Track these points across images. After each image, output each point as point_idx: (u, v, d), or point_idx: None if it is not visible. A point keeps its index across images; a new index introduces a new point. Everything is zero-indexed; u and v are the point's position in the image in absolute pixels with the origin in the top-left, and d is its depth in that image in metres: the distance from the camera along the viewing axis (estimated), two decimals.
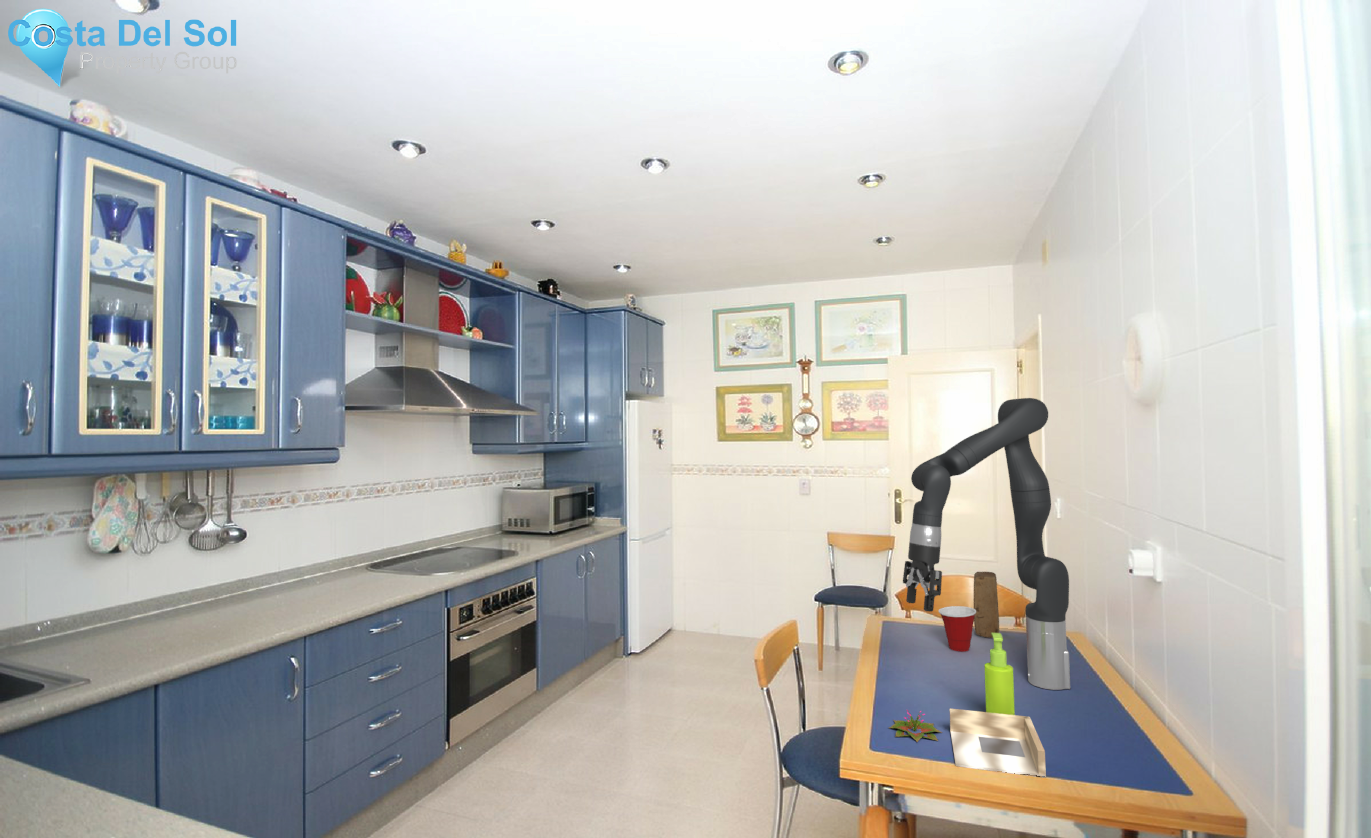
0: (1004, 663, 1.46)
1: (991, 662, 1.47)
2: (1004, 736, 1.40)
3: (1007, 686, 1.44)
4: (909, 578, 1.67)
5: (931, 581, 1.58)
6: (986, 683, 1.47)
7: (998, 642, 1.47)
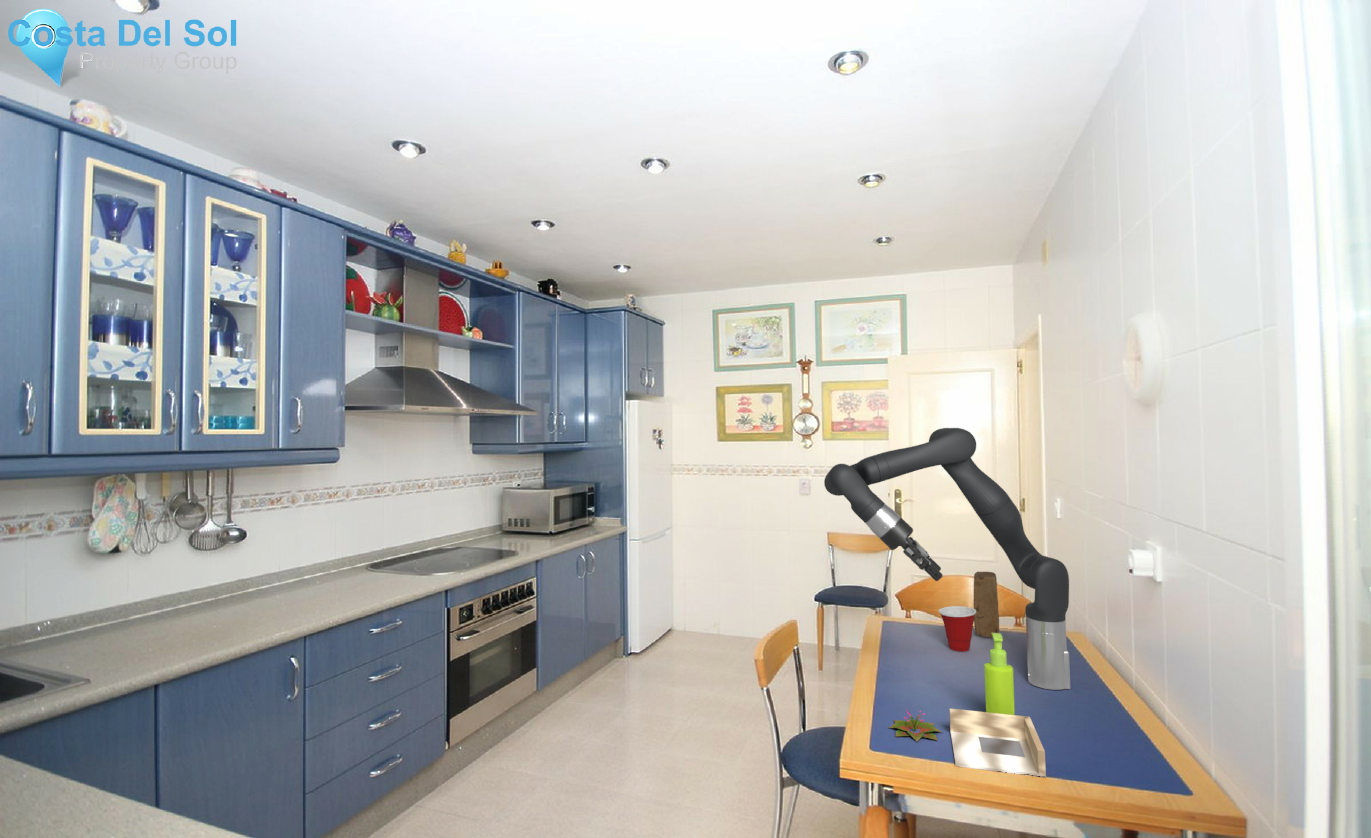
0: (1004, 663, 1.46)
1: (991, 662, 1.47)
2: (1004, 736, 1.40)
3: (1007, 686, 1.44)
4: None
5: (911, 559, 1.54)
6: (986, 683, 1.47)
7: (998, 642, 1.47)
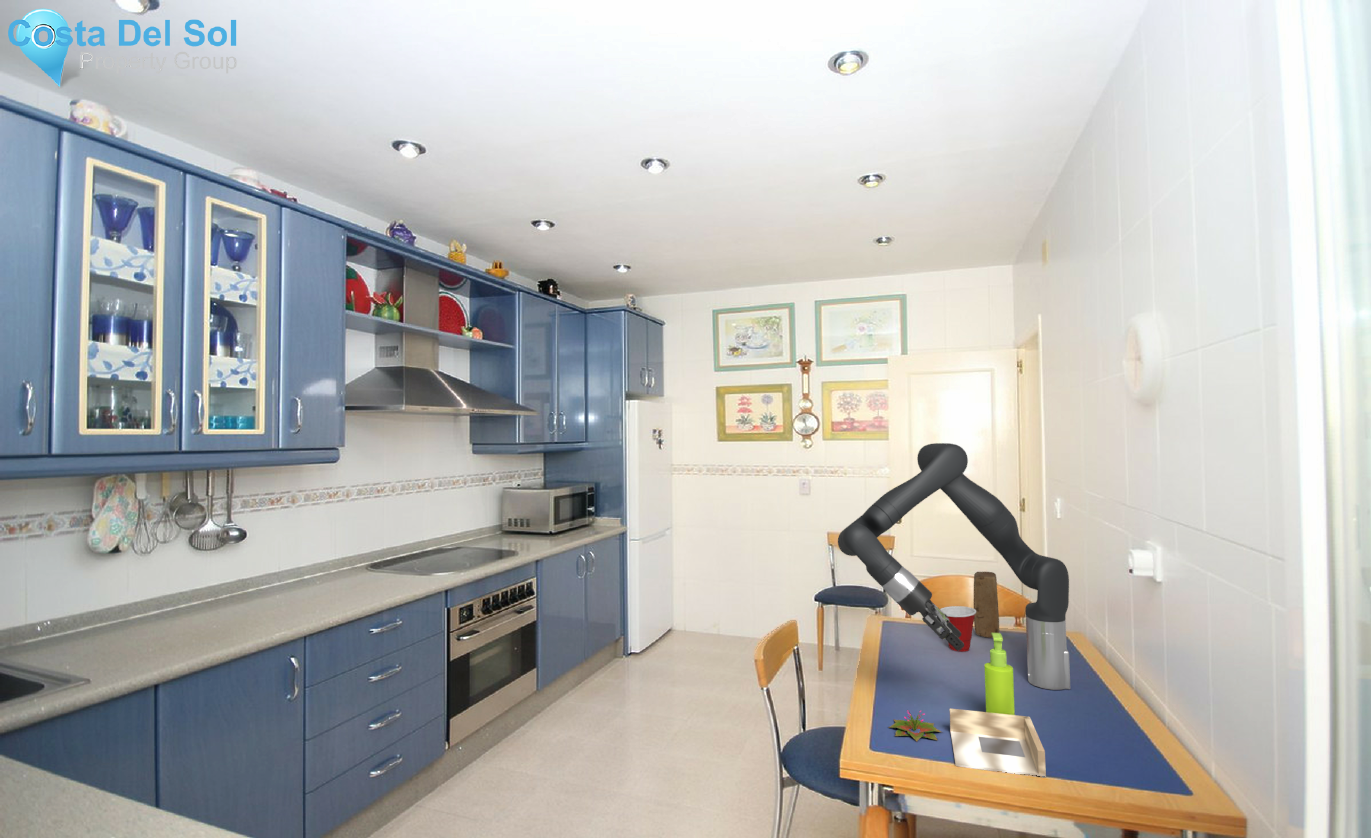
0: (1004, 663, 1.46)
1: (991, 662, 1.47)
2: (1004, 736, 1.40)
3: (1007, 686, 1.44)
4: None
5: (931, 628, 1.47)
6: (986, 683, 1.47)
7: (998, 642, 1.47)
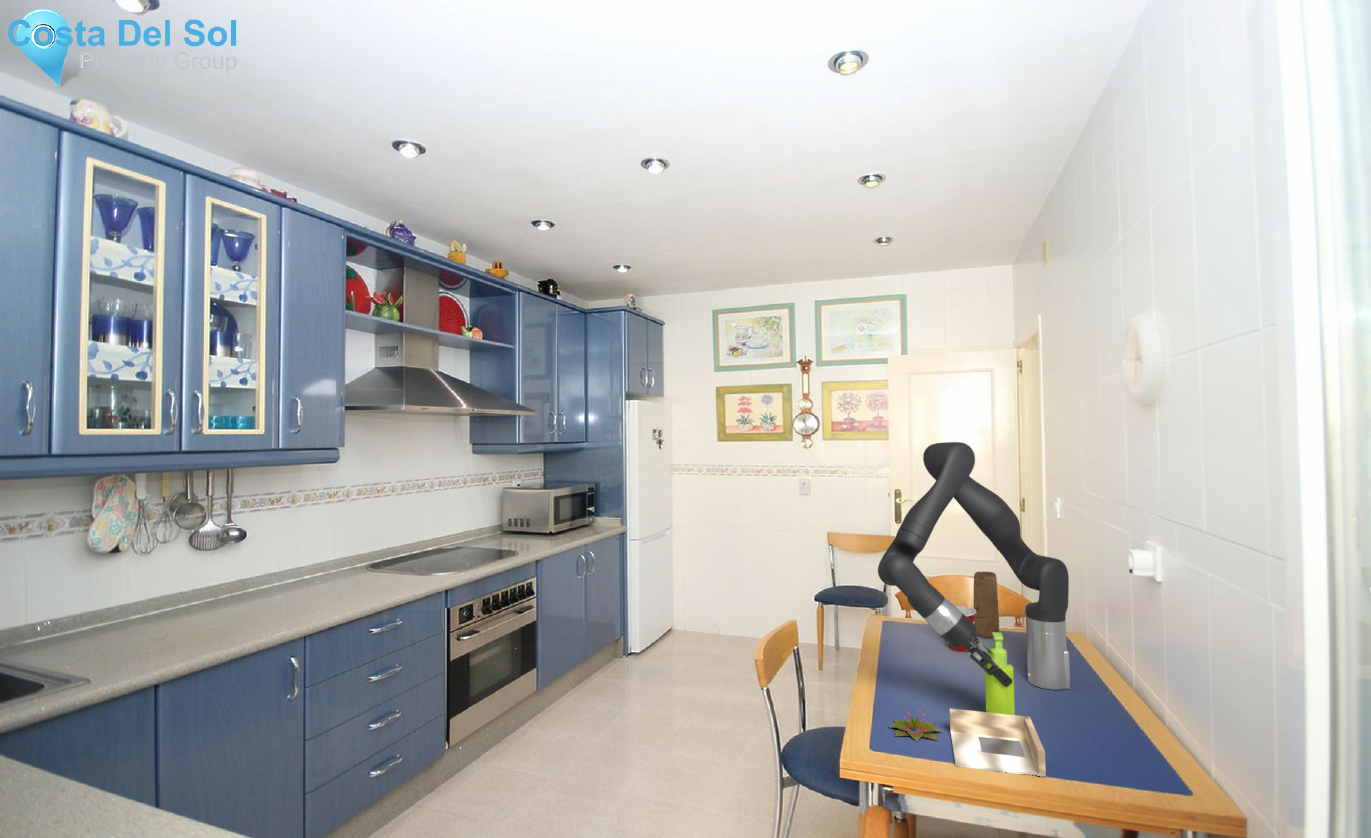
0: (1004, 662, 1.46)
1: None
2: (1004, 736, 1.40)
3: None
4: None
5: None
6: (986, 682, 1.48)
7: (998, 641, 1.47)
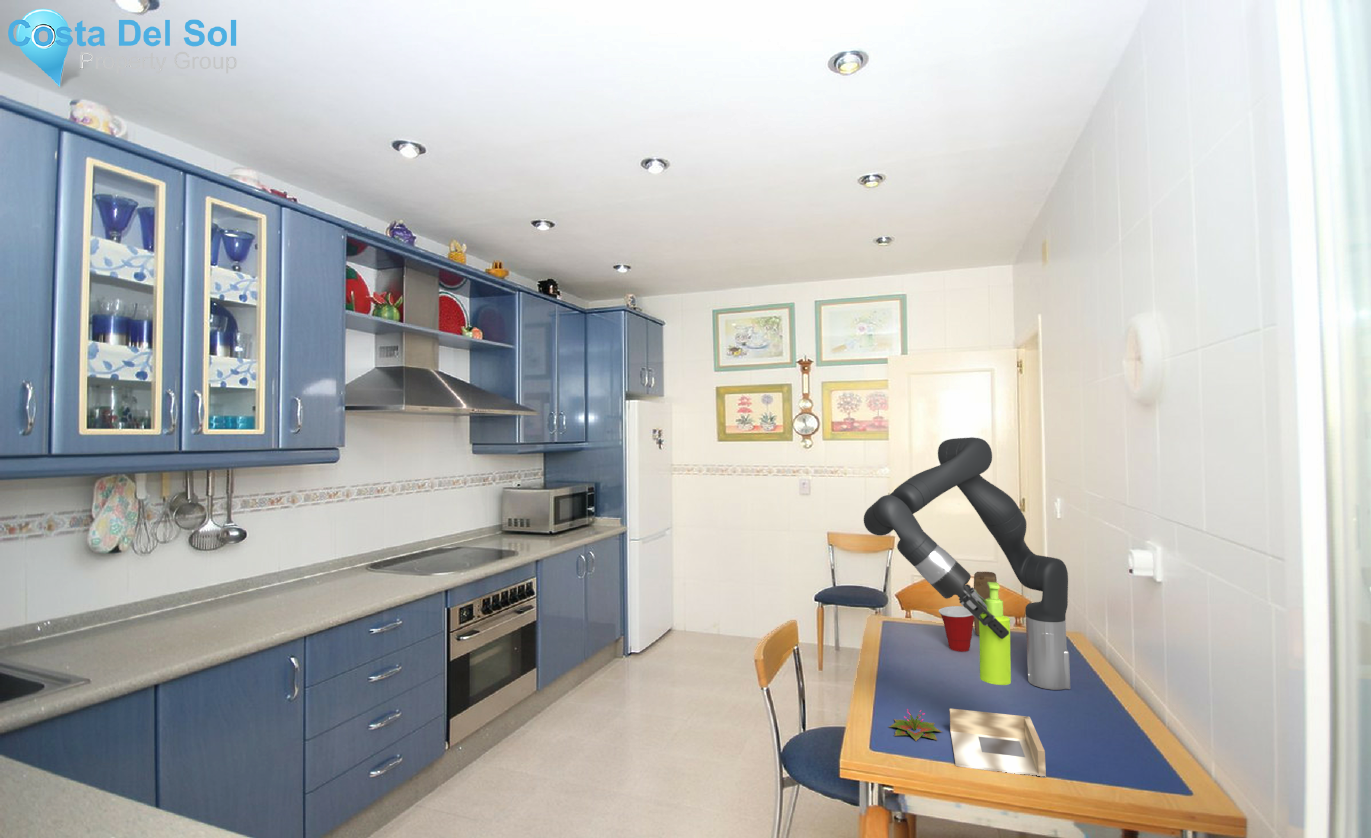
0: (1000, 613, 1.35)
1: None
2: (1004, 736, 1.40)
3: None
4: None
5: (973, 614, 1.33)
6: (980, 634, 1.37)
7: (994, 590, 1.36)
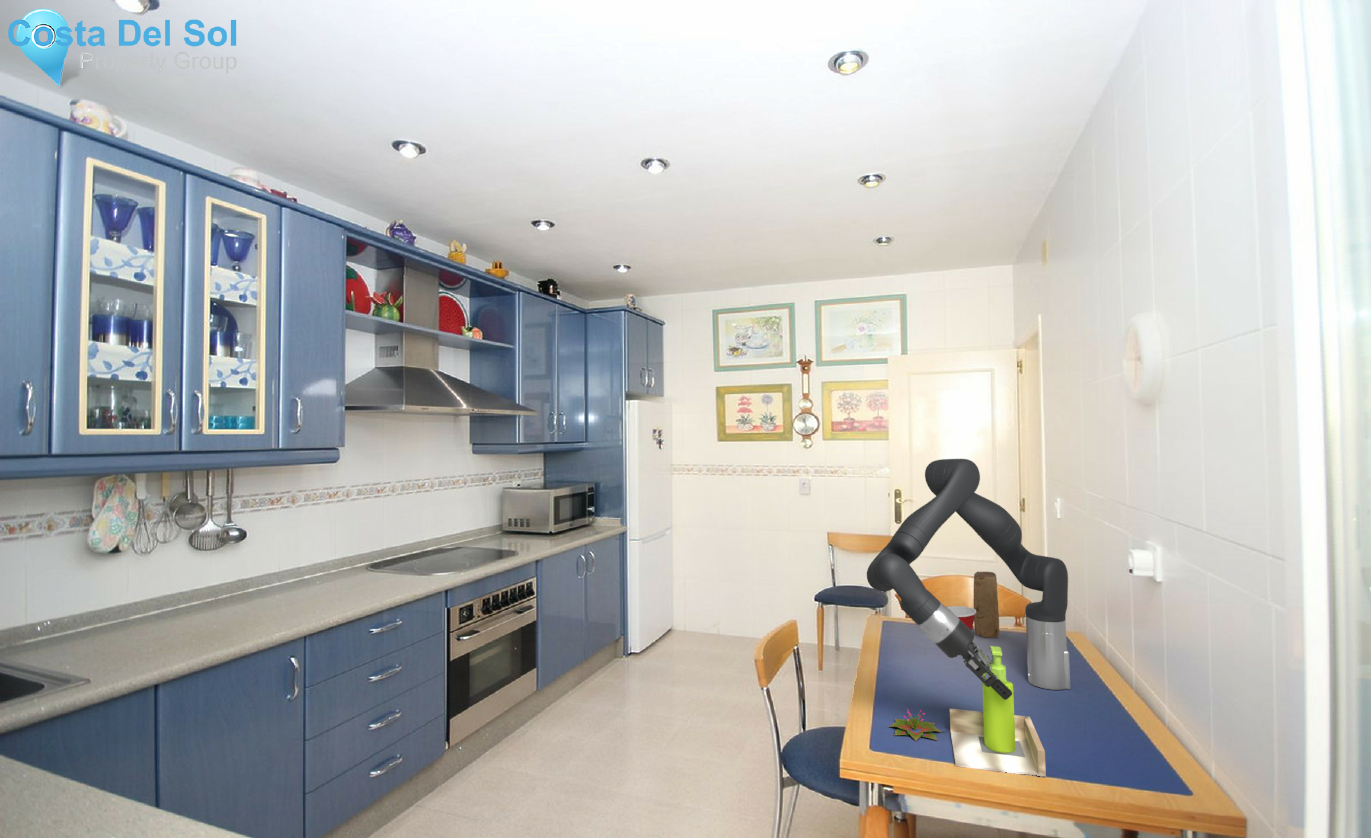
0: (1003, 679, 1.35)
1: None
2: None
3: (1007, 705, 1.33)
4: None
5: (975, 674, 1.32)
6: (984, 701, 1.36)
7: (997, 657, 1.36)
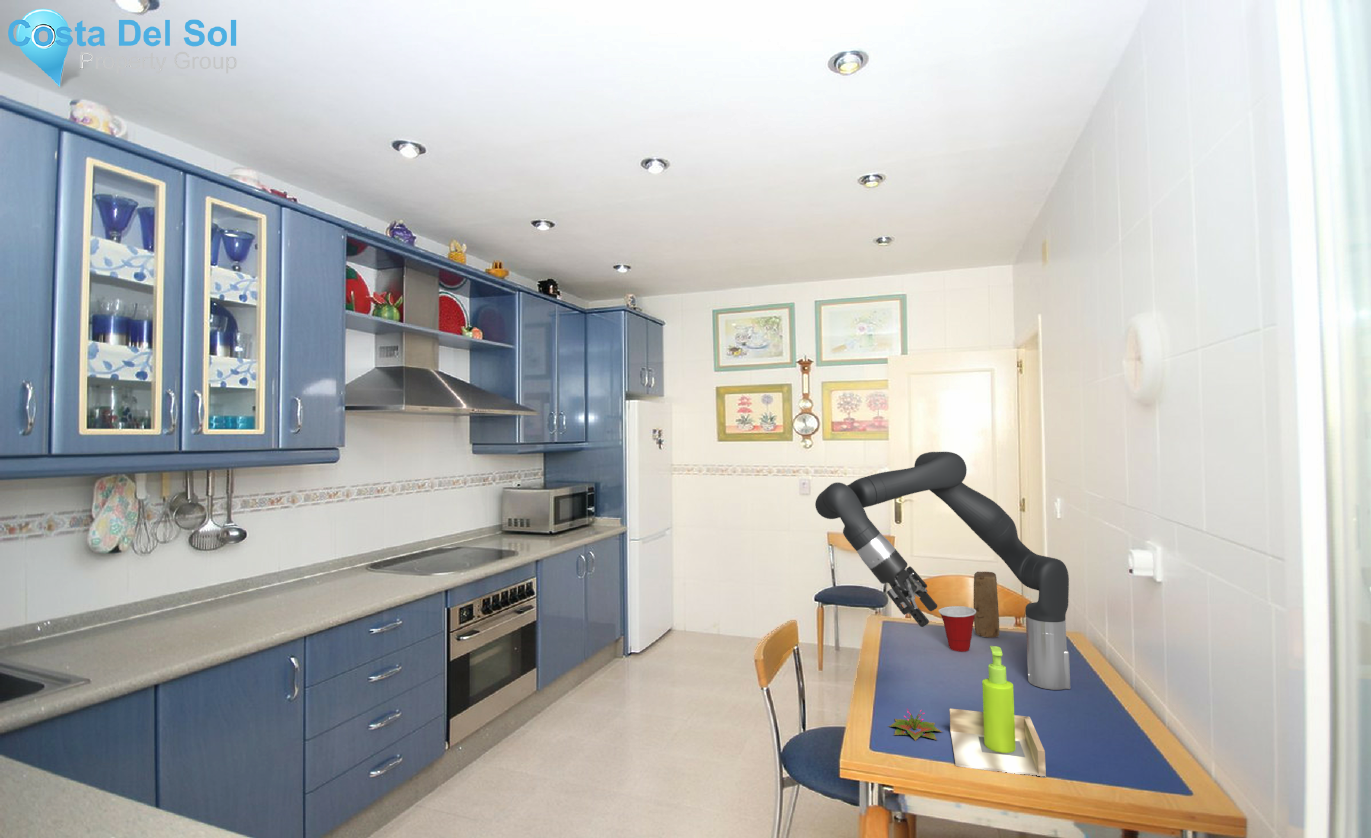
0: (1004, 680, 1.35)
1: (989, 678, 1.36)
2: None
3: (1007, 705, 1.33)
4: None
5: None
6: (984, 701, 1.36)
7: (997, 657, 1.35)
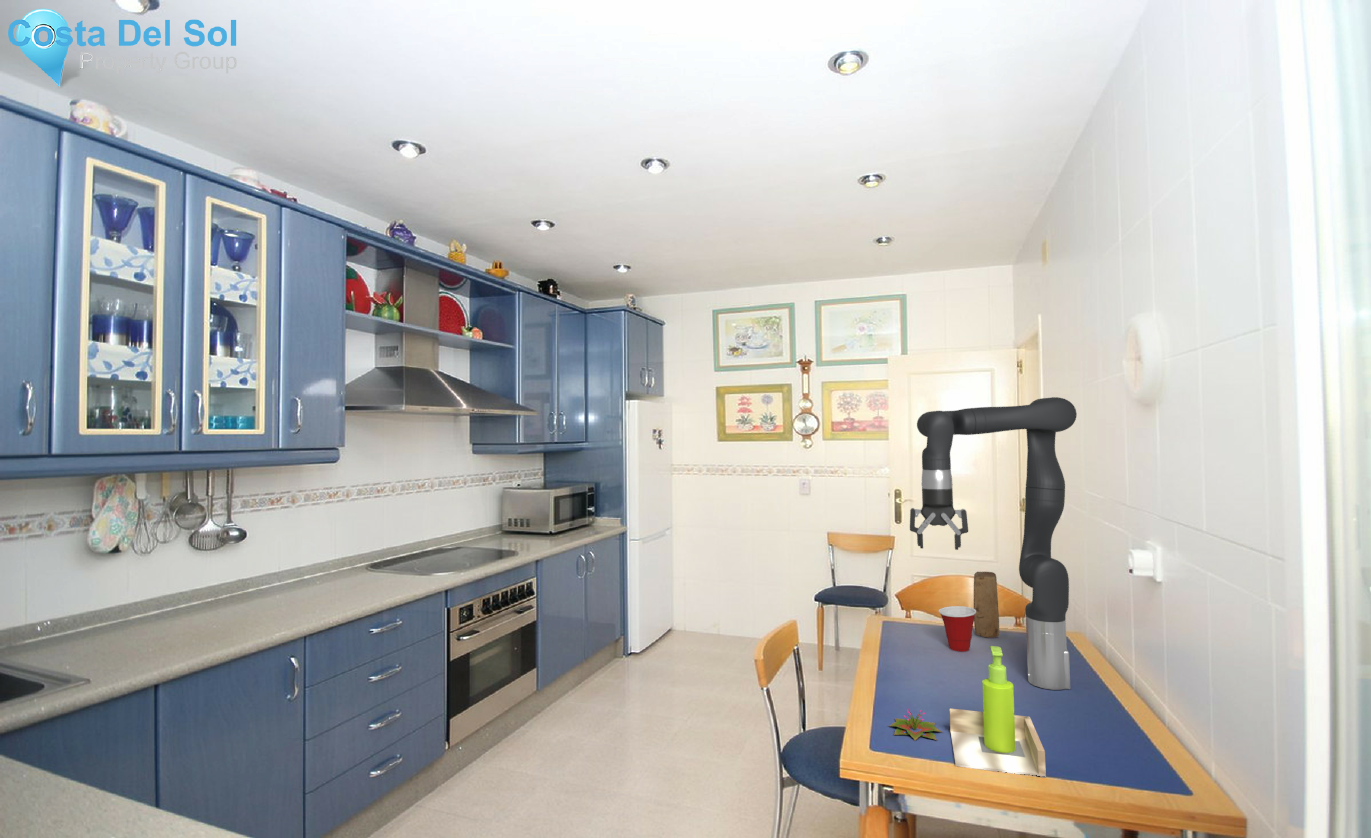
0: (1004, 680, 1.35)
1: (990, 678, 1.36)
2: None
3: (1007, 705, 1.33)
4: None
5: None
6: (984, 701, 1.36)
7: (997, 657, 1.35)
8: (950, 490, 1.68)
